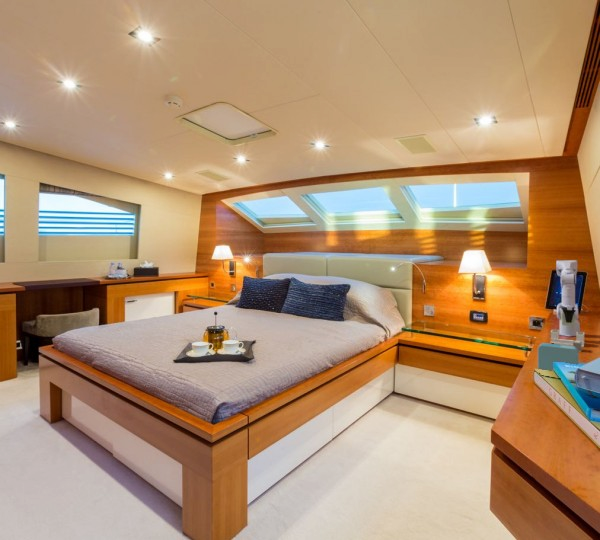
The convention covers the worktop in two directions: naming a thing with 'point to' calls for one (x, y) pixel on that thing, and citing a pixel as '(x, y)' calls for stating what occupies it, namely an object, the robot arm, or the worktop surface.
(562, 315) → the green module
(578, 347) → the block
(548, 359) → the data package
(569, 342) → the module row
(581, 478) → the worktop surface
